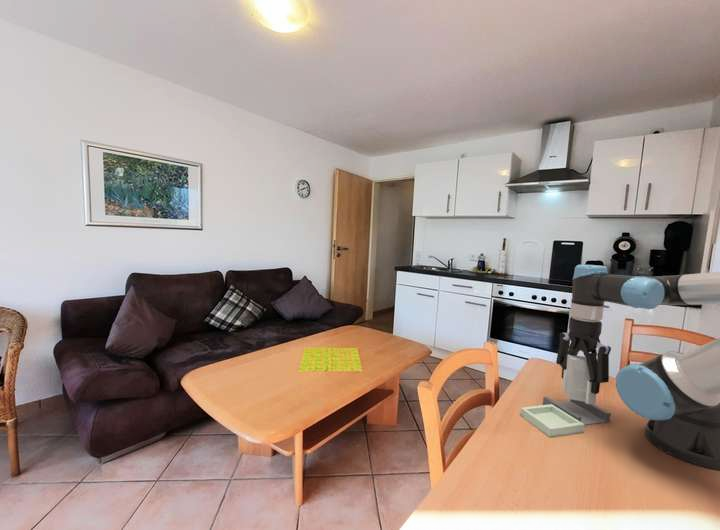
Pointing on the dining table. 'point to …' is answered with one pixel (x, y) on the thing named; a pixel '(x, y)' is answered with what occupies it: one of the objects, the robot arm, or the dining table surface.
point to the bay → (581, 411)
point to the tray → (552, 420)
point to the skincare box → (576, 378)
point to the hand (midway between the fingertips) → (578, 396)
